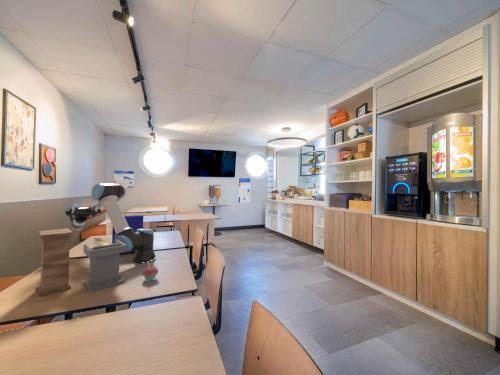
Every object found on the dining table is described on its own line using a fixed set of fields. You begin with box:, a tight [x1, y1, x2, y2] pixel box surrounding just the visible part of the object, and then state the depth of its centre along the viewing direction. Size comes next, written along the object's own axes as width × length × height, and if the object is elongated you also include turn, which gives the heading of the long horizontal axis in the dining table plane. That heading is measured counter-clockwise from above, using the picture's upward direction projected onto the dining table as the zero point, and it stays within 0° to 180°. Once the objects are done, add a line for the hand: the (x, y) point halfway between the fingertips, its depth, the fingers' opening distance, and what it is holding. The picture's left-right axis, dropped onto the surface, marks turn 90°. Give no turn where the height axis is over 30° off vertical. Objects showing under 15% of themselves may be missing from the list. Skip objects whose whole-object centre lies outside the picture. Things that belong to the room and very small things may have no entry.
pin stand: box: [36, 227, 73, 297], centre depth 114 cm, size 14×12×30 cm
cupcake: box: [141, 262, 159, 282], centre depth 127 cm, size 9×8×12 cm
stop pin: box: [92, 237, 120, 250], centre depth 126 cm, size 24×12×3 cm, turn 48°
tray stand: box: [83, 240, 126, 293], centre depth 121 cm, size 15×17×22 cm
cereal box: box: [111, 214, 144, 255], centre depth 178 cm, size 22×6×30 cm, turn 122°
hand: (86, 206), depth 148 cm, fingers open, 13 cm apart
